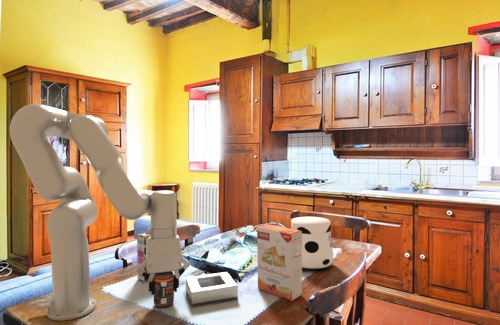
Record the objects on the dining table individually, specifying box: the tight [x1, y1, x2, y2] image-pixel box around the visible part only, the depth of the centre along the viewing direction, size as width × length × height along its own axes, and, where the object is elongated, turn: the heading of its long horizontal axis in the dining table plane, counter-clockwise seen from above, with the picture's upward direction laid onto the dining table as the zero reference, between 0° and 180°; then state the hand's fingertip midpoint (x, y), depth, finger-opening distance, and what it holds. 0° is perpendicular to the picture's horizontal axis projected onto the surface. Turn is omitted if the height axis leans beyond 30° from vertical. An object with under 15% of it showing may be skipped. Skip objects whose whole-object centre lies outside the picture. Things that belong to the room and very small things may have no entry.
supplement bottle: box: [153, 271, 175, 308], centre depth 98 cm, size 6×6×11 cm
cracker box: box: [256, 224, 303, 302], centre depth 105 cm, size 14×6×21 cm, turn 47°
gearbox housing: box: [185, 271, 239, 308], centre depth 104 cm, size 14×12×4 cm
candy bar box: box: [136, 232, 154, 283], centre depth 120 cm, size 11×5×16 cm, turn 144°
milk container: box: [290, 216, 334, 271], centre depth 130 cm, size 17×17×18 cm
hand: (163, 291), depth 98 cm, fingers closed on supplement bottle, 5 cm apart
